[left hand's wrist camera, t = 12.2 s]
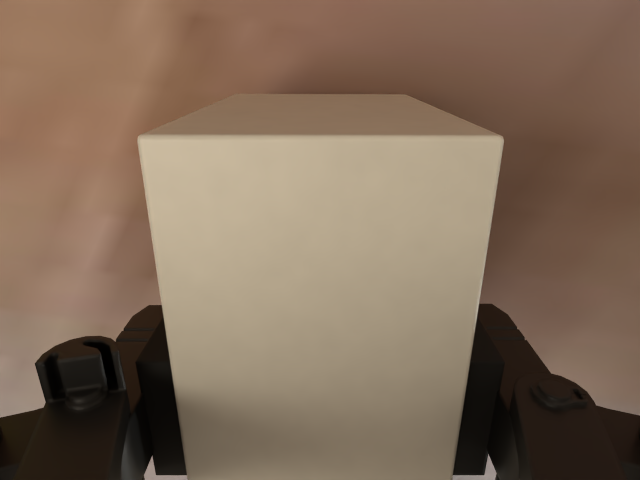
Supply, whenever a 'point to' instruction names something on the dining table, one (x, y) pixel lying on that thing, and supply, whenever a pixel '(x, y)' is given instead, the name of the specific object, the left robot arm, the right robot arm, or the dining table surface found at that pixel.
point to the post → (320, 281)
